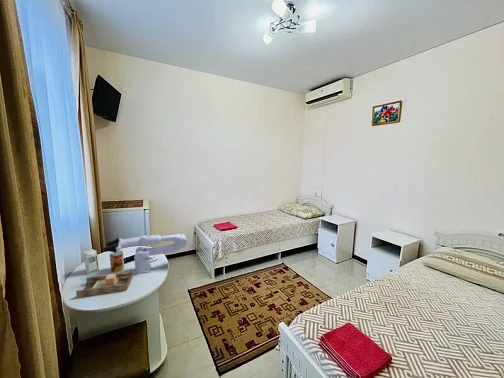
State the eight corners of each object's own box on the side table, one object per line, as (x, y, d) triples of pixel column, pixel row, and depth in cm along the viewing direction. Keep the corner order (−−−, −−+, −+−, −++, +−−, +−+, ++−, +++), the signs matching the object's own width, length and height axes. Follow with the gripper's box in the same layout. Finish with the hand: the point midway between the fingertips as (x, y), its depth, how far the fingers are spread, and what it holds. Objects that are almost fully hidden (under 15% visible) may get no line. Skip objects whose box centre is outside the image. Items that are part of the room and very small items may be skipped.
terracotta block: (116, 280, 135) (115, 273, 134) (114, 284, 131) (113, 277, 130) (108, 281, 134) (107, 275, 133) (105, 285, 129) (105, 279, 129)
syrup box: (89, 274, 145) (87, 254, 143) (85, 271, 148) (83, 251, 146) (99, 270, 150) (96, 250, 147) (95, 268, 153) (92, 248, 150)
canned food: (110, 268, 152) (108, 252, 150) (123, 265, 157) (121, 249, 155) (112, 273, 146) (110, 257, 144) (125, 269, 151) (124, 253, 149)
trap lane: (132, 277, 142) (131, 271, 141) (127, 290, 129) (126, 284, 128) (87, 283, 135) (86, 277, 134) (77, 297, 121) (76, 291, 121)
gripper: (129, 233, 151) (106, 236, 146) (126, 241, 137) (101, 246, 132) (131, 242, 152) (108, 246, 147) (128, 251, 139) (103, 256, 134)
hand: (105, 247), depth 140 cm, fingers open, 7 cm apart
